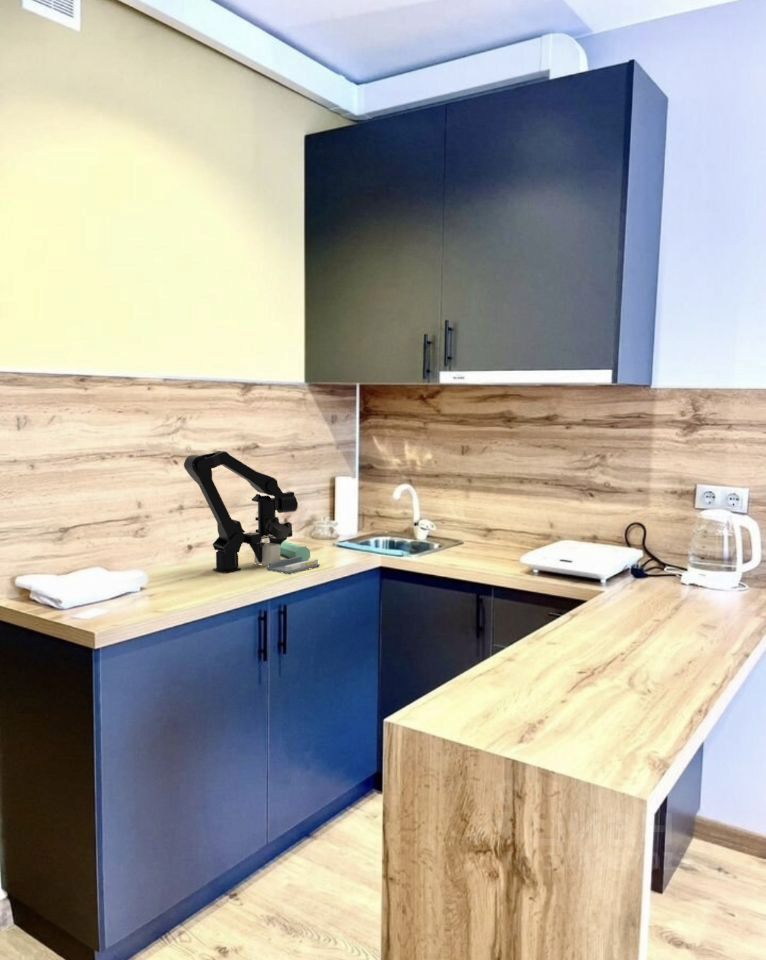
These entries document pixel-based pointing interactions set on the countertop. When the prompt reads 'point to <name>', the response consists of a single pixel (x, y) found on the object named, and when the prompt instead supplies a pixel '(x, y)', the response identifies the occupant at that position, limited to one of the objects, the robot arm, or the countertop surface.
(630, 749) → the countertop surface
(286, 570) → the shallow grey tray
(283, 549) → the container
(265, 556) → the product box
